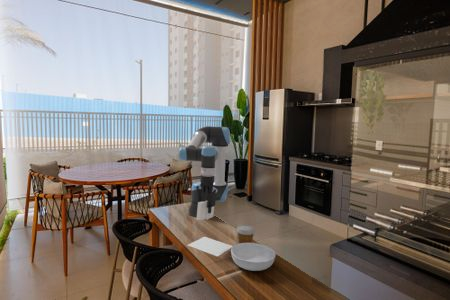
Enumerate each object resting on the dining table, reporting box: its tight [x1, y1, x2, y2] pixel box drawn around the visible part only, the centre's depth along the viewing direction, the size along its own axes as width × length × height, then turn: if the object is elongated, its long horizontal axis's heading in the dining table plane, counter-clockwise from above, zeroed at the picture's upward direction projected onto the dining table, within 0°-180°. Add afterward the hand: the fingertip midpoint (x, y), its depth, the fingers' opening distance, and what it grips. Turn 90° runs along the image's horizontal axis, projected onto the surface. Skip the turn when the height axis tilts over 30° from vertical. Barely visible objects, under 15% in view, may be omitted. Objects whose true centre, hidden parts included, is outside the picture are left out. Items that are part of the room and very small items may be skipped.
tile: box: [195, 201, 215, 221], centre depth 146 cm, size 12×2×9 cm, turn 147°
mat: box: [187, 236, 234, 258], centre depth 145 cm, size 15×20×1 cm
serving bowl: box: [230, 242, 276, 272], centre depth 128 cm, size 21×21×7 cm
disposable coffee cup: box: [236, 224, 256, 244], centre depth 144 cm, size 10×10×12 cm
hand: (205, 218), depth 147 cm, fingers closed on tile, 2 cm apart
